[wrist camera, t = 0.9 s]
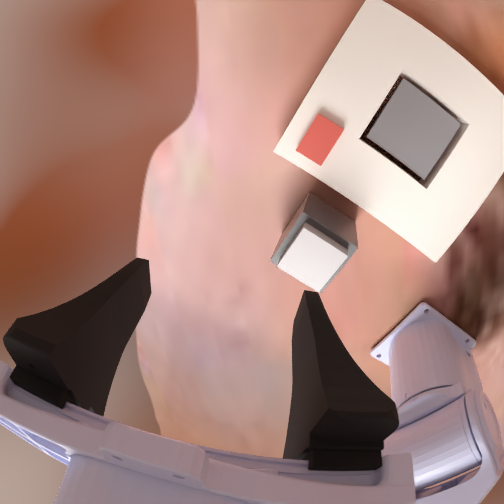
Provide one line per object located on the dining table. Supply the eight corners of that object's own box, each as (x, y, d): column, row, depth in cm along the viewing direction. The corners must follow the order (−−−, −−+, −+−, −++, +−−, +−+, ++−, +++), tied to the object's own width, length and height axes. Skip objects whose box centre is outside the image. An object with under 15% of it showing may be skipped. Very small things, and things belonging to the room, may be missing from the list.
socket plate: (516, 122, 16) (534, 126, 14) (428, 249, 23) (437, 266, 21) (367, 3, 16) (370, -10, 13) (279, 147, 23) (271, 152, 20)
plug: (355, 221, 24) (358, 254, 19) (325, 260, 26) (320, 300, 21) (309, 191, 24) (301, 217, 19) (282, 233, 26) (266, 267, 21)
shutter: (458, 124, 17) (460, 124, 17) (422, 178, 20) (424, 180, 19) (402, 79, 17) (403, 78, 17) (365, 136, 20) (366, 137, 19)
